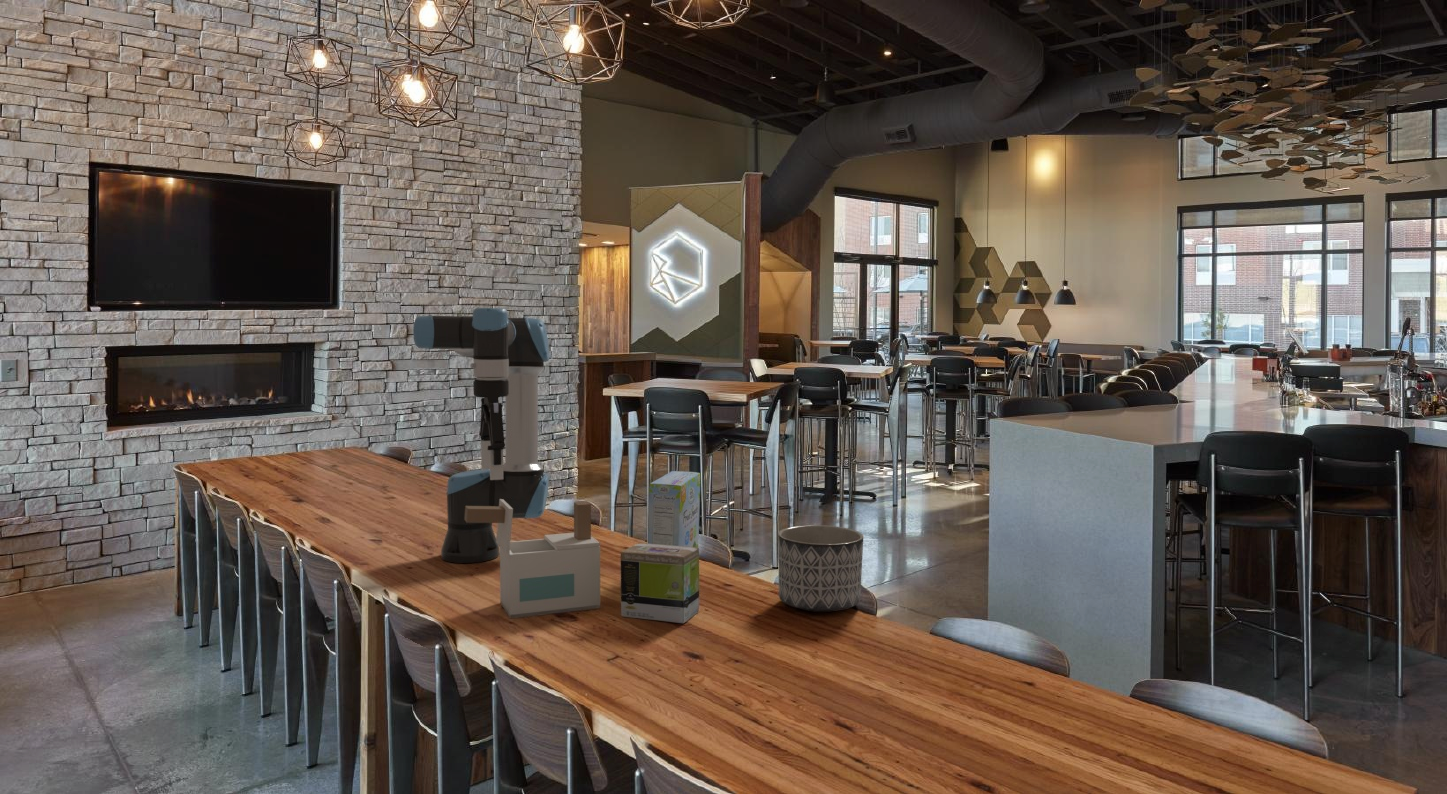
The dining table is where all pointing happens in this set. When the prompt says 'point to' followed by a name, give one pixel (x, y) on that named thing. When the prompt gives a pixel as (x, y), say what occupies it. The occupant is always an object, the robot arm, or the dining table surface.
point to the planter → (820, 567)
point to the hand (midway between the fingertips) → (492, 474)
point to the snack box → (674, 509)
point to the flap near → (494, 520)
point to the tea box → (660, 582)
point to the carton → (552, 571)
